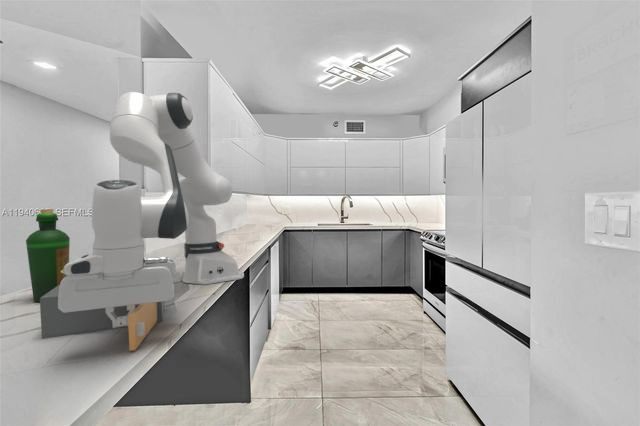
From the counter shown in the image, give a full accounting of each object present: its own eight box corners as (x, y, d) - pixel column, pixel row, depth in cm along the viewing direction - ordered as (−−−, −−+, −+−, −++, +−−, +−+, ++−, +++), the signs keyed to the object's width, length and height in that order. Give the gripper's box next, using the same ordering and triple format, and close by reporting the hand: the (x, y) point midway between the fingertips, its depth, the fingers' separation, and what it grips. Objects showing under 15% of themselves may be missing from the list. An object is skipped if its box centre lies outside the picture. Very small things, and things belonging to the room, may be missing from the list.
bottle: (79, 296, 105) (74, 208, 104) (37, 306, 96) (32, 210, 95) (63, 292, 111) (59, 208, 109) (22, 300, 101) (17, 210, 100)
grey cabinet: (164, 306, 93) (162, 271, 93) (162, 321, 82) (160, 280, 82) (60, 320, 84) (58, 280, 83) (41, 338, 73) (39, 292, 72)
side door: (153, 320, 81) (152, 292, 81) (163, 319, 82) (162, 291, 81) (129, 350, 65) (127, 315, 65) (141, 349, 65) (140, 314, 65)
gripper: (175, 253, 74) (176, 313, 75) (63, 260, 66) (66, 328, 67) (175, 259, 68) (176, 324, 69) (53, 267, 60) (56, 341, 61)
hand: (121, 326), depth 68 cm, fingers closed
